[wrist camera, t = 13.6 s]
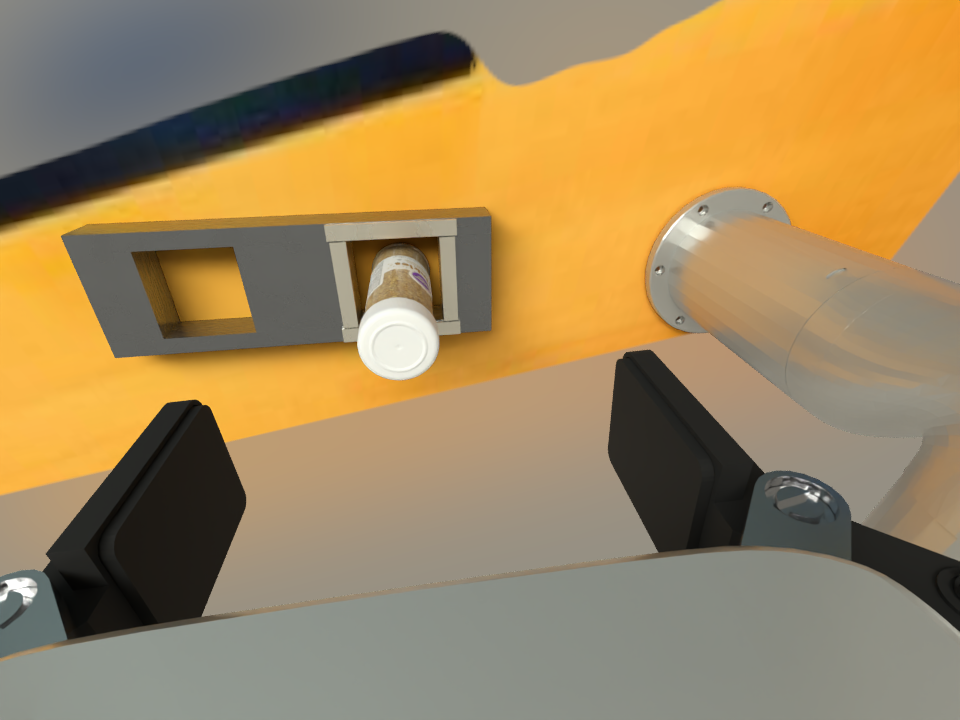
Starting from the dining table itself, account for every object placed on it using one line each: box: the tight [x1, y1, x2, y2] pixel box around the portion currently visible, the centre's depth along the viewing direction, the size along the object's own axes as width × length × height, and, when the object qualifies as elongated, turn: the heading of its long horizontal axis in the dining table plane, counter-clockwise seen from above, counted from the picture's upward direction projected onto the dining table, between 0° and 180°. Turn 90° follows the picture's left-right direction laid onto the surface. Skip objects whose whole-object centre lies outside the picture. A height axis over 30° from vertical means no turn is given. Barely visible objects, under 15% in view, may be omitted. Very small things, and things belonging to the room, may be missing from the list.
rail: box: [61, 207, 491, 358], centre depth 36 cm, size 28×9×3 cm, turn 91°
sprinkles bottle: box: [357, 243, 439, 380], centre depth 32 cm, size 5×5×14 cm
